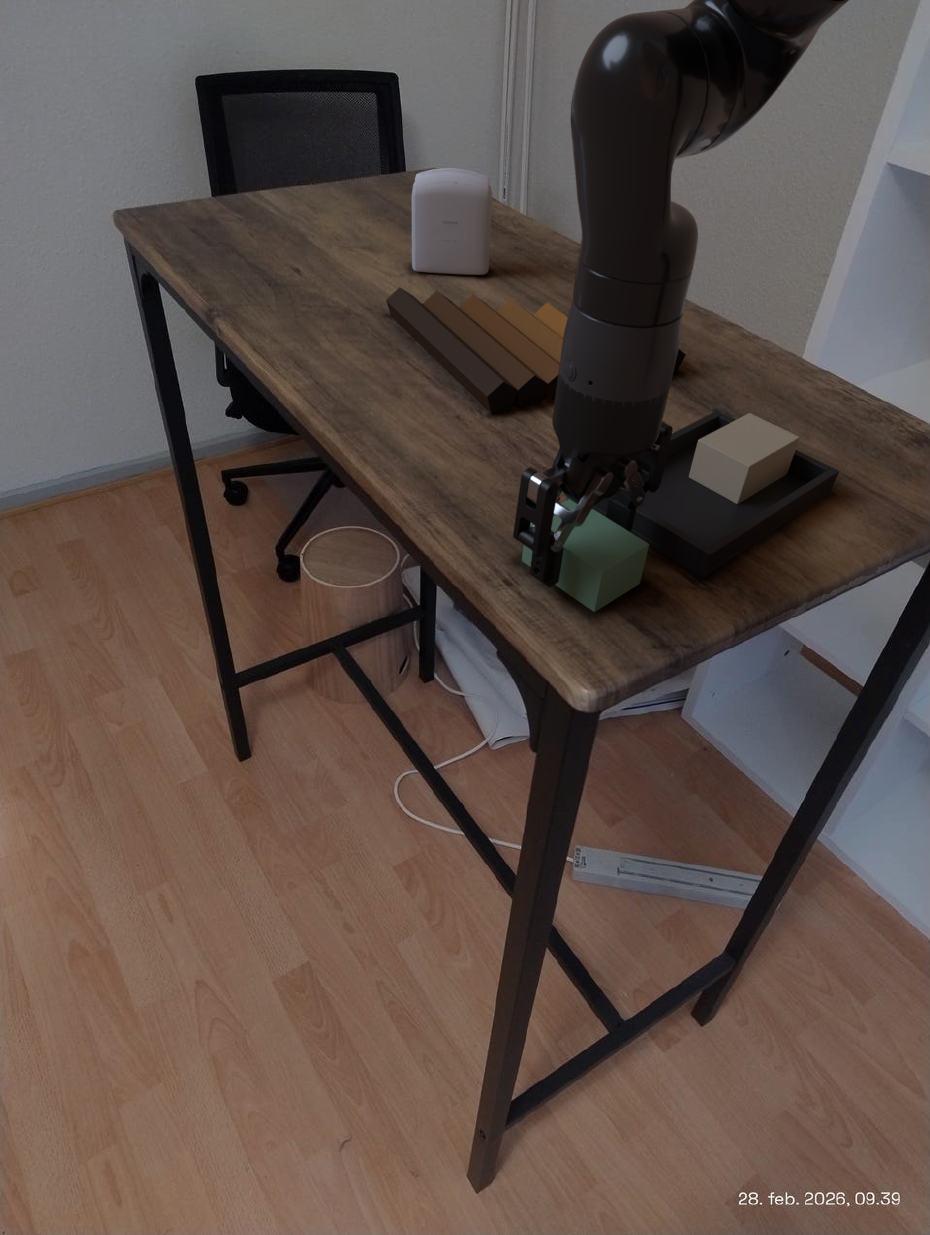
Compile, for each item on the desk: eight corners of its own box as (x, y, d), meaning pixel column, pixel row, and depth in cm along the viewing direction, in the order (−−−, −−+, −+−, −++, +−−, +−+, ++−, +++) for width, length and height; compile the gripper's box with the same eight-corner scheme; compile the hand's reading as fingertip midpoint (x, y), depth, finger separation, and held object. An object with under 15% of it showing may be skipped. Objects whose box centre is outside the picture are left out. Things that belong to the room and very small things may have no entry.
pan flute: (386, 317, 104) (485, 415, 88) (385, 289, 101) (487, 384, 85) (562, 288, 113) (681, 372, 97) (565, 261, 110) (688, 343, 95)
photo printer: (409, 274, 114) (410, 172, 105) (412, 261, 117) (413, 161, 109) (488, 279, 114) (494, 177, 105) (488, 266, 117) (495, 167, 109)
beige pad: (787, 474, 81) (800, 437, 79) (737, 504, 77) (749, 466, 75) (738, 449, 84) (749, 412, 82) (688, 477, 80) (697, 439, 77)
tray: (830, 493, 80) (839, 470, 78) (702, 579, 70) (709, 554, 68) (710, 432, 87) (716, 410, 86) (578, 501, 77) (582, 478, 76)
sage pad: (567, 535, 73) (573, 496, 71) (640, 583, 69) (649, 544, 67) (521, 561, 71) (525, 521, 68) (594, 612, 66) (602, 572, 64)
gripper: (585, 426, 52) (552, 623, 63) (724, 362, 60) (673, 548, 71) (499, 378, 56) (483, 571, 67) (640, 323, 64) (604, 505, 75)
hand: (580, 559), depth 69 cm, fingers open, 8 cm apart
